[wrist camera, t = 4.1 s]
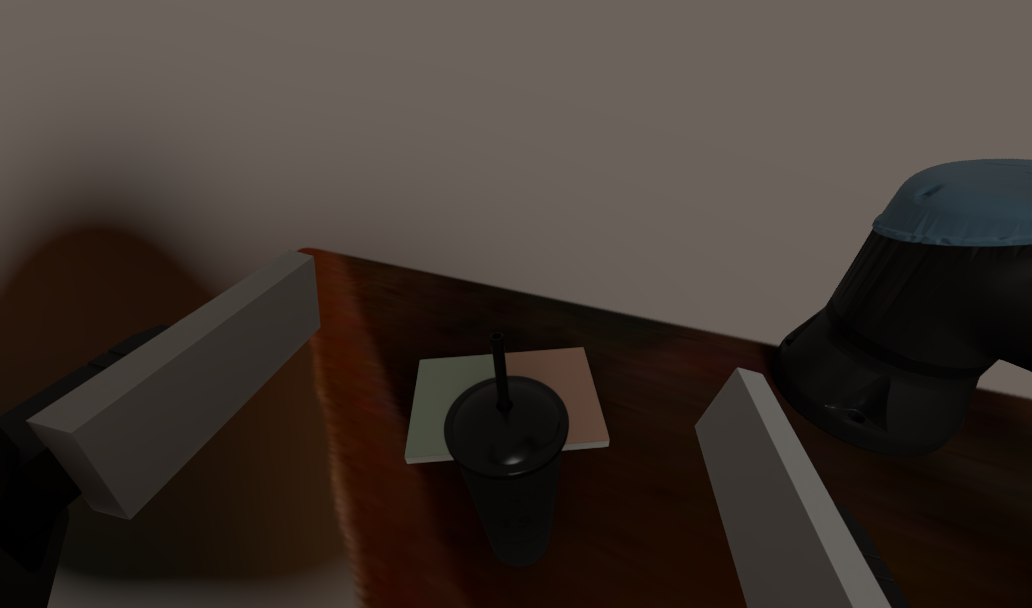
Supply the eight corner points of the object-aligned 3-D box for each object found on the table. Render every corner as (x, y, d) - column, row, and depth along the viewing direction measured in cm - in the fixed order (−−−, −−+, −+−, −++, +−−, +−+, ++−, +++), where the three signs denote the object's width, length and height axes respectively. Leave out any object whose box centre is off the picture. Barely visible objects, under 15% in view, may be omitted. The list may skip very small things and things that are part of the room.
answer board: (582, 354, 46) (583, 347, 46) (608, 446, 37) (609, 439, 36) (422, 366, 46) (420, 359, 45) (407, 463, 36) (404, 457, 36)
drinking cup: (463, 506, 33) (415, 314, 23) (546, 477, 35) (539, 286, 24) (484, 606, 27) (433, 408, 16) (584, 566, 29) (597, 363, 18)
